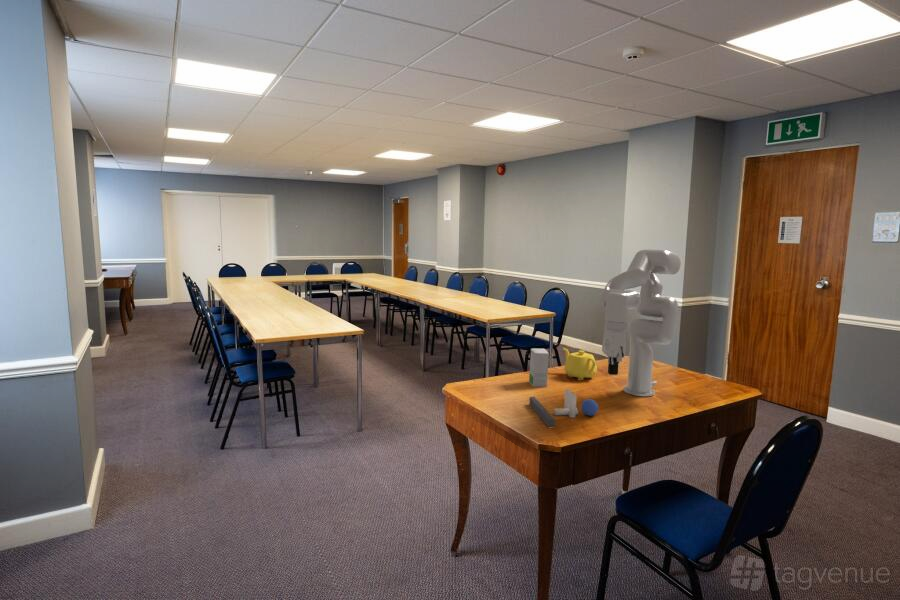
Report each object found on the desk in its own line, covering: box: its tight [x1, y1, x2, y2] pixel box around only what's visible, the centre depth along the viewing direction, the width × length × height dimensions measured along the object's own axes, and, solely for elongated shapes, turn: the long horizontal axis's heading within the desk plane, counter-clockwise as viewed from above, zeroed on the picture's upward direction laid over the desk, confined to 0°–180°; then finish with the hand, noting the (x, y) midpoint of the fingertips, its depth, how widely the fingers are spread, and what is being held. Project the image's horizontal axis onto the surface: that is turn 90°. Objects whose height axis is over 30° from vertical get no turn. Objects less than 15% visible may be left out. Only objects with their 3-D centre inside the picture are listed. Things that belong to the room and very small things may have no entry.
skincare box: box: [528, 347, 550, 388], centre depth 219 cm, size 8×7×16 cm
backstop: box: [528, 396, 556, 428], centre depth 181 cm, size 2×24×3 cm, turn 7°
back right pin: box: [563, 388, 572, 408], centre depth 185 cm, size 2×2×8 cm
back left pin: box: [568, 392, 577, 419], centre depth 180 cm, size 2×2×8 cm
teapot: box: [562, 347, 598, 381], centre depth 232 cm, size 14×20×13 cm
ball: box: [580, 398, 599, 417], centre depth 182 cm, size 6×6×6 cm
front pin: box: [553, 407, 579, 416], centre depth 183 cm, size 2×2×8 cm
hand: (612, 374), depth 183 cm, fingers closed
